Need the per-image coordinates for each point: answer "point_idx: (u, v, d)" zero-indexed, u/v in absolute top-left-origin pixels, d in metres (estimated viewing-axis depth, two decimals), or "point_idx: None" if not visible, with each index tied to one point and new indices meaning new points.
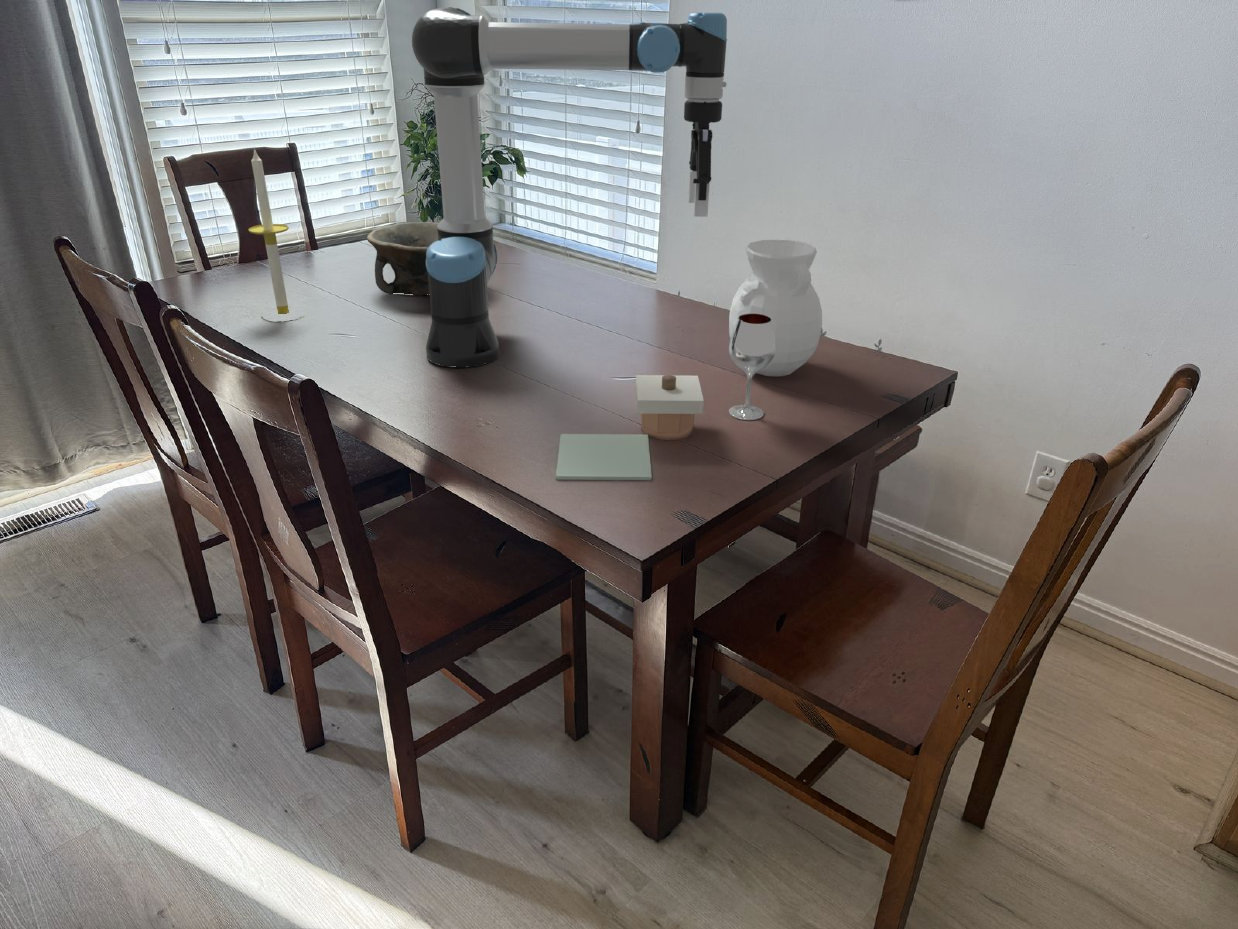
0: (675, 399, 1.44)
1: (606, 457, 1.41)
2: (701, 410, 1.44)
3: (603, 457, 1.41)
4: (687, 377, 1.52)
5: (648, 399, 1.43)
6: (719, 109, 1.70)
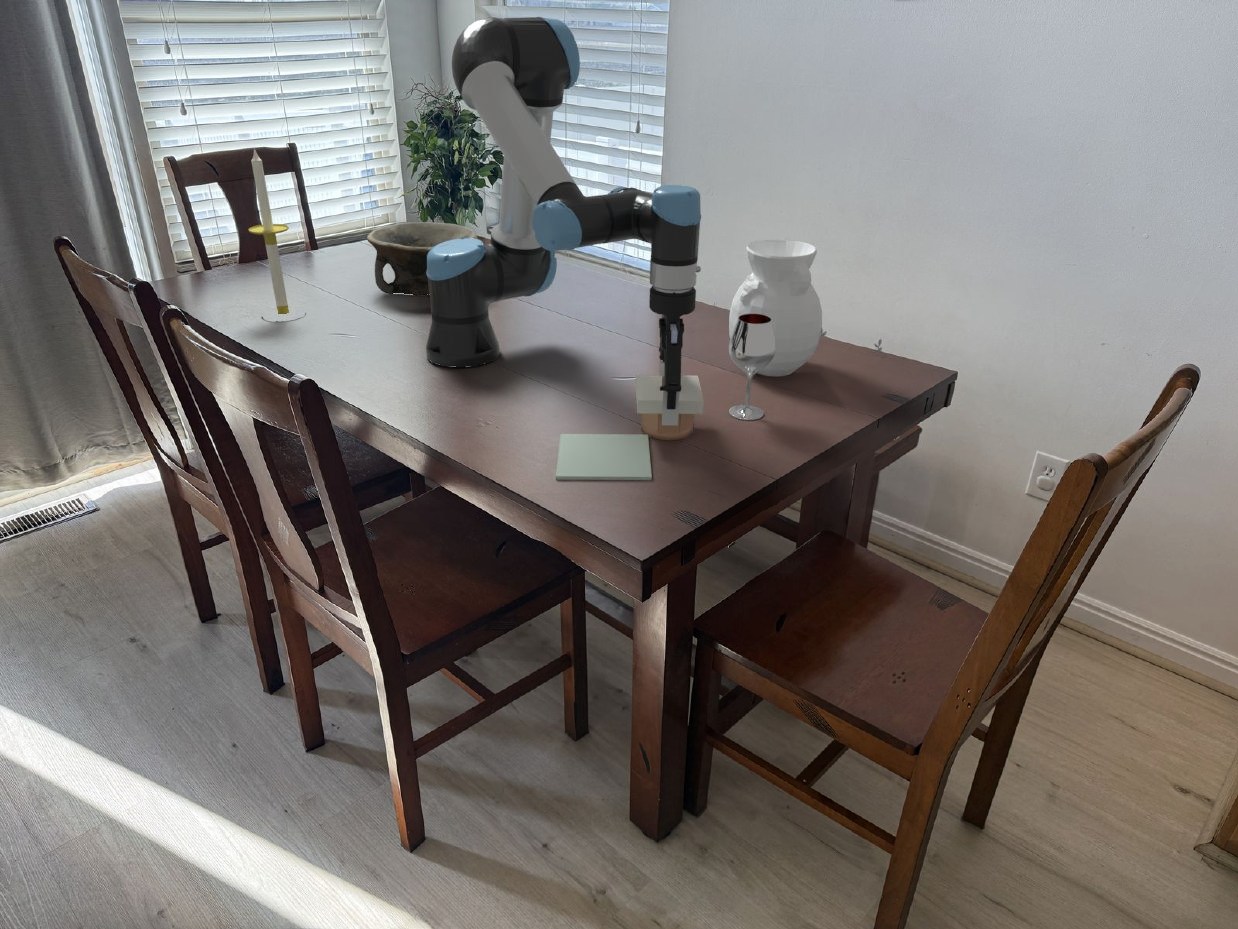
0: None
1: (606, 457, 1.41)
2: (701, 410, 1.44)
3: (603, 457, 1.41)
4: (687, 377, 1.52)
5: (648, 399, 1.43)
6: (692, 299, 1.38)
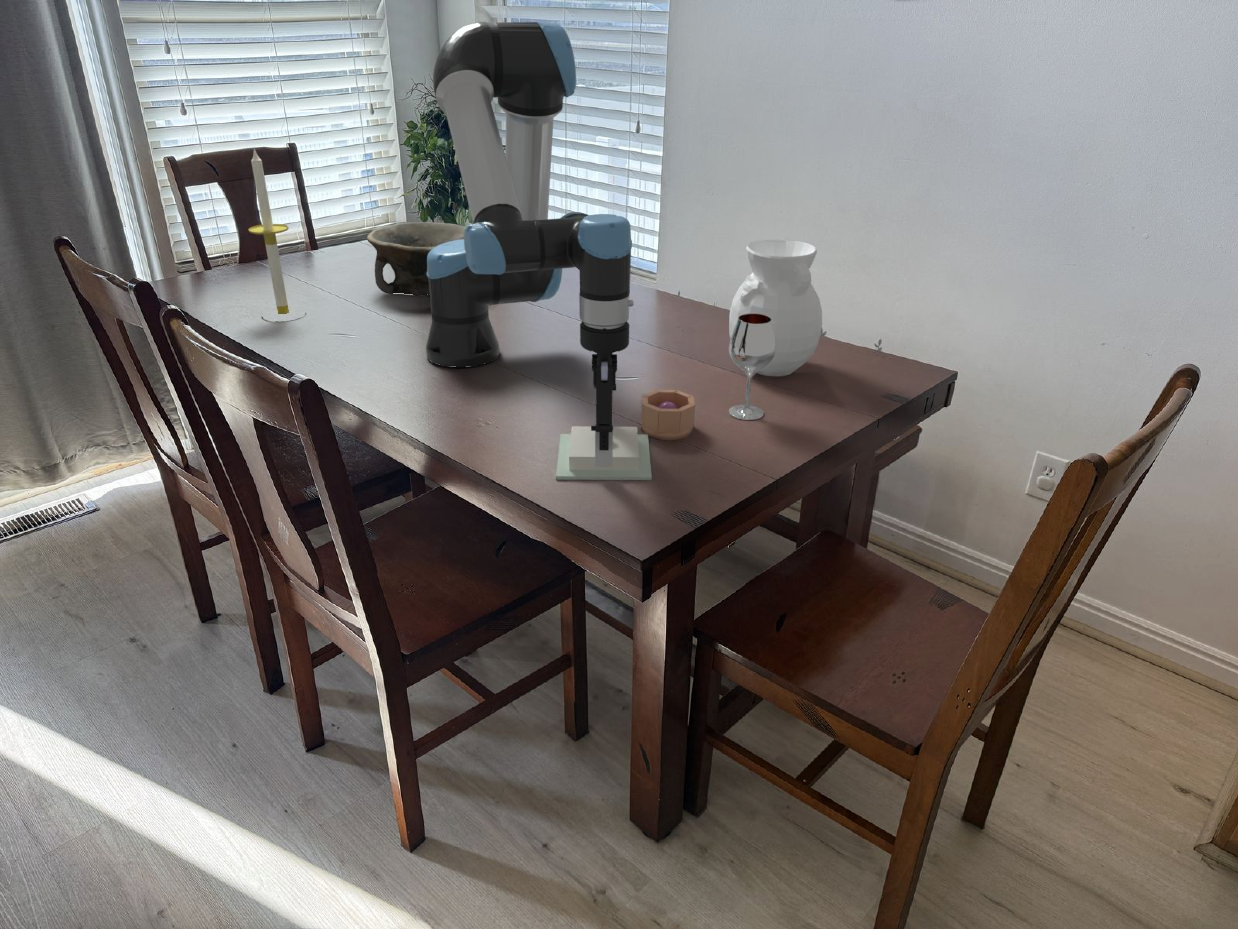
0: None
1: None
2: (637, 467, 1.36)
3: None
4: (625, 428, 1.45)
5: (580, 455, 1.36)
6: (625, 335, 1.30)
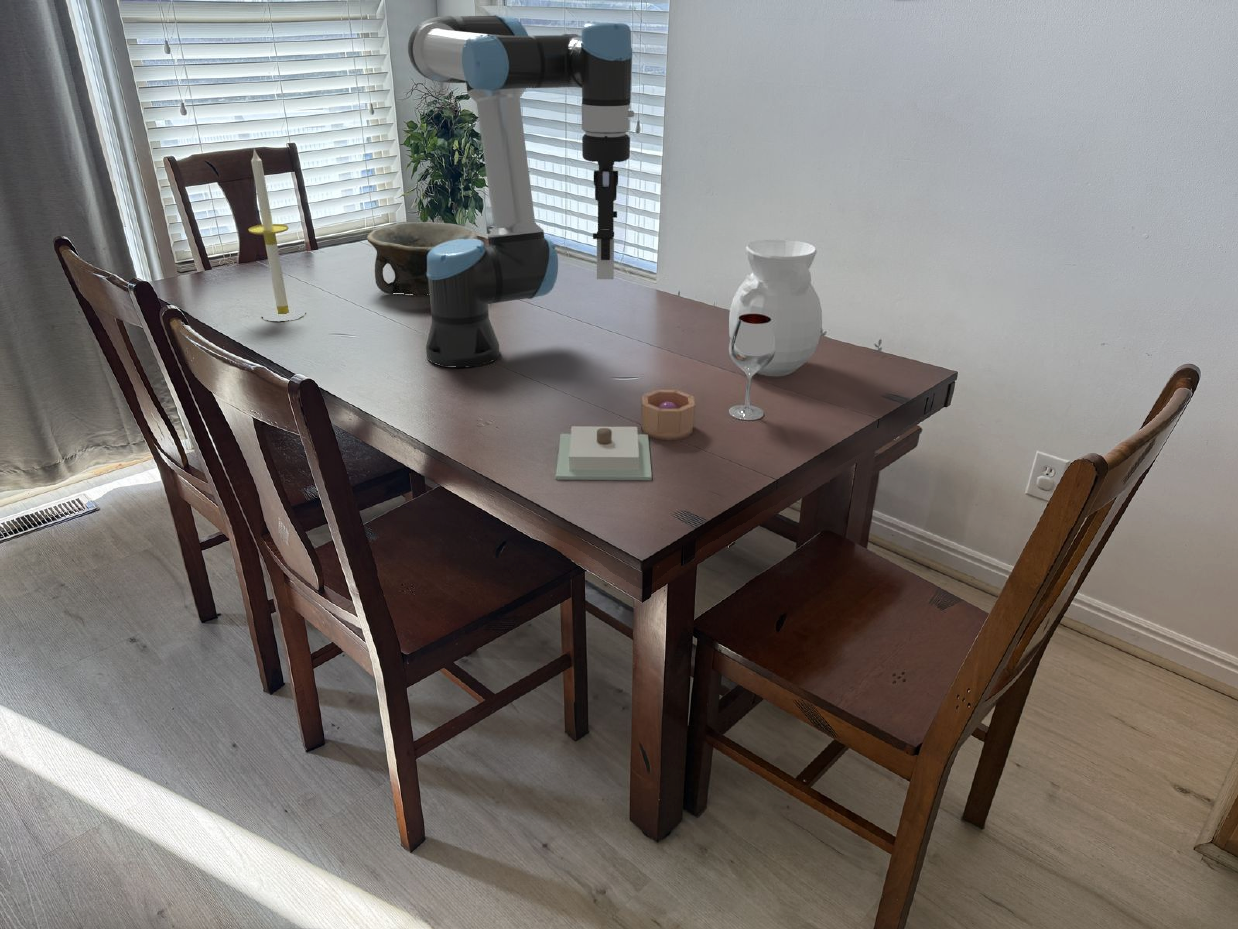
0: (609, 455, 1.36)
1: None
2: (637, 467, 1.36)
3: None
4: (625, 428, 1.45)
5: (580, 455, 1.36)
6: (626, 145, 1.34)
